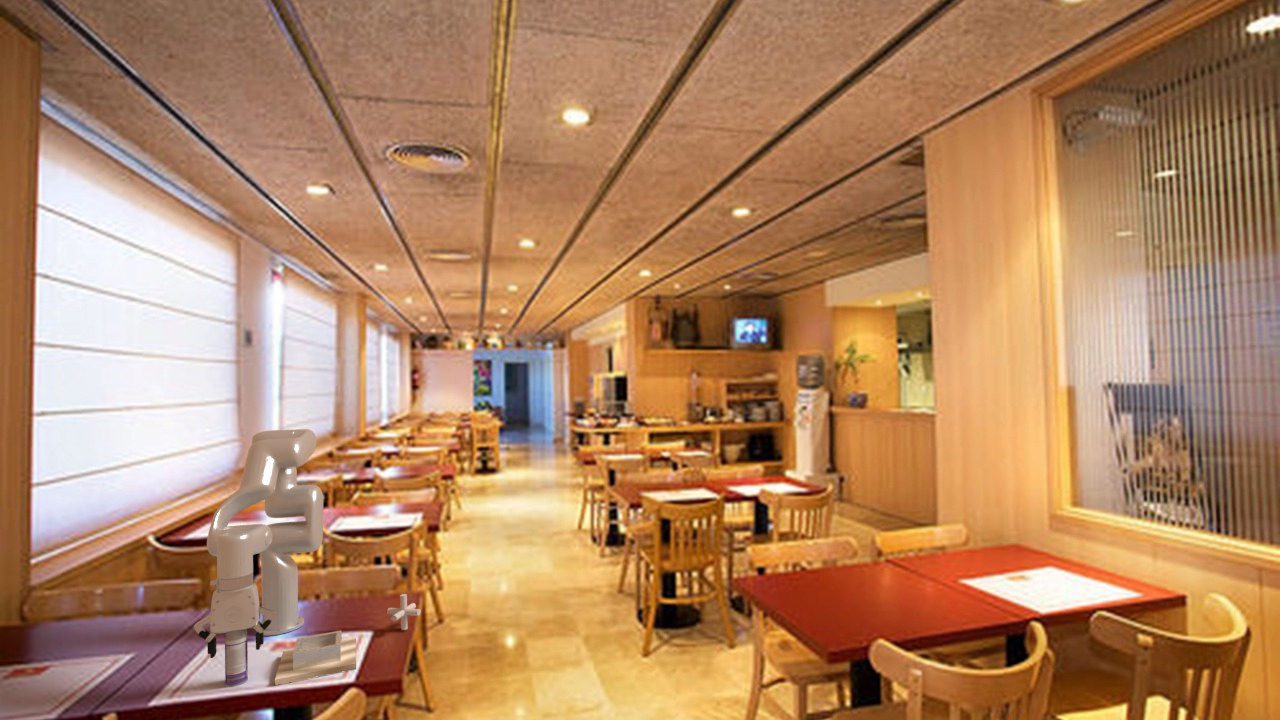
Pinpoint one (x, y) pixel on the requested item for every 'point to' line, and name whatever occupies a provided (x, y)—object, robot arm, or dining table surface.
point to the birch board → (290, 675)
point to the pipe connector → (403, 611)
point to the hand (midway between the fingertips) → (236, 651)
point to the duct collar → (317, 650)
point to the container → (236, 658)
